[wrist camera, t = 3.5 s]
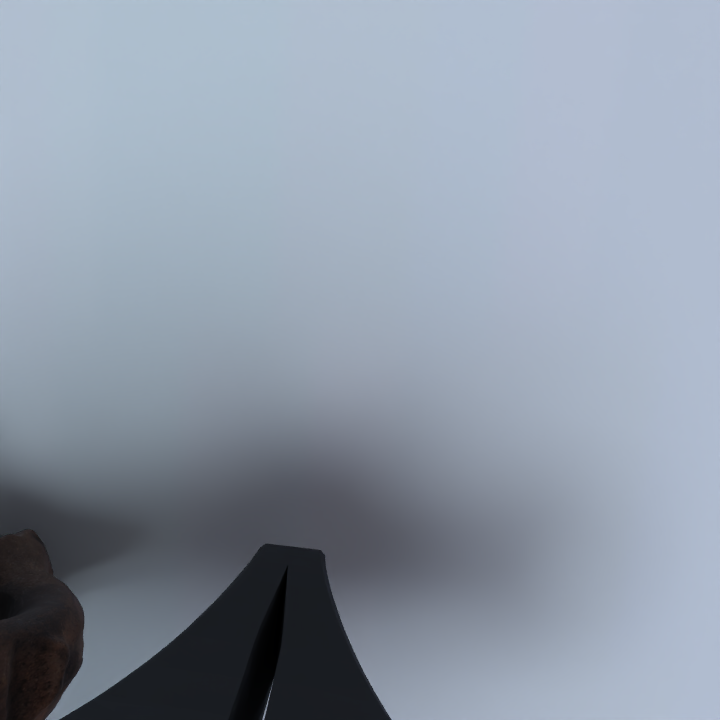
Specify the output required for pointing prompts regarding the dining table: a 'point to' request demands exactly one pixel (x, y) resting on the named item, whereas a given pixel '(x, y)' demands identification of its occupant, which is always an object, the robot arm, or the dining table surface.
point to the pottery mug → (35, 630)
